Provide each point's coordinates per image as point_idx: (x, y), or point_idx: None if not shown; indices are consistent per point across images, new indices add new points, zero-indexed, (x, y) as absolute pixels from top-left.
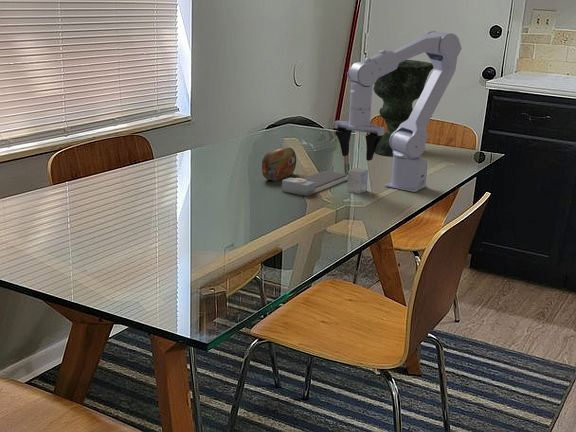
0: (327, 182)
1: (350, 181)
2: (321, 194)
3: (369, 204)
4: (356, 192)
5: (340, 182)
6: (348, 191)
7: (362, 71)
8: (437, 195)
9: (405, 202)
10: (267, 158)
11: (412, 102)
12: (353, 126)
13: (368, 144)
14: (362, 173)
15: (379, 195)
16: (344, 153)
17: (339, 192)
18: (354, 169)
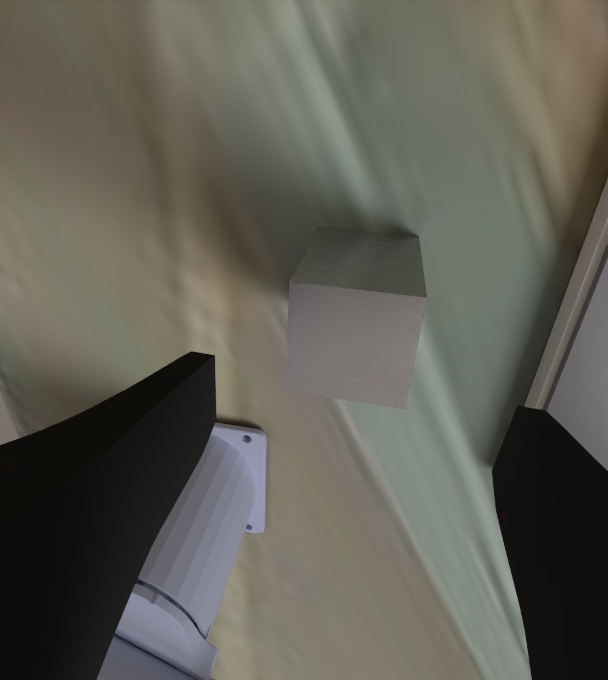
0: (604, 262)
1: (396, 259)
2: (588, 16)
3: (140, 2)
4: (344, 231)
5: (528, 397)
6: (407, 235)
7: None
8: (15, 409)
9: (25, 212)
10: None
11: None
12: None
13: (50, 455)
14: (290, 301)
15: (207, 264)
16: (525, 428)
17: (459, 176)
18: (388, 355)
